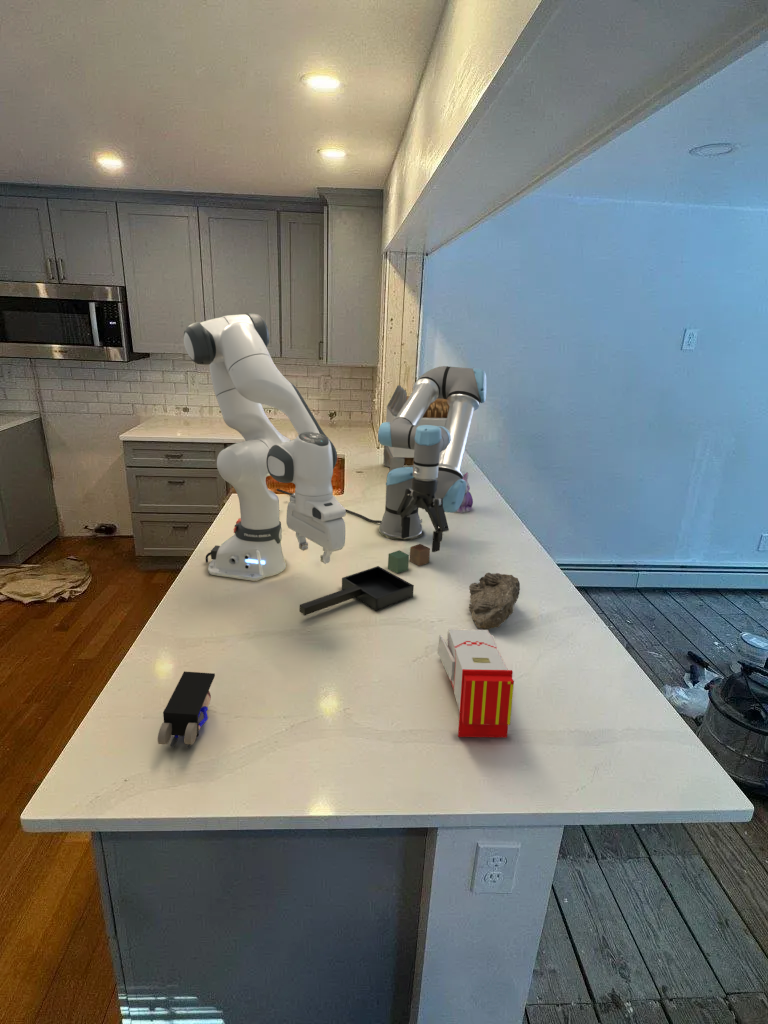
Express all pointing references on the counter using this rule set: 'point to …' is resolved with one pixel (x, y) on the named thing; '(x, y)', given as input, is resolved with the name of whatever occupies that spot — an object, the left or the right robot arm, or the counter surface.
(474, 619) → the fossil
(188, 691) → the figurine character
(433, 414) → the transformer
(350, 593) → the pan
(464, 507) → the figurine
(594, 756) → the counter surface
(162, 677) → the counter surface
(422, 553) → the walnut block
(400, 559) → the green block
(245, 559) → the left robot arm
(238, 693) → the counter surface
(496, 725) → the toy
